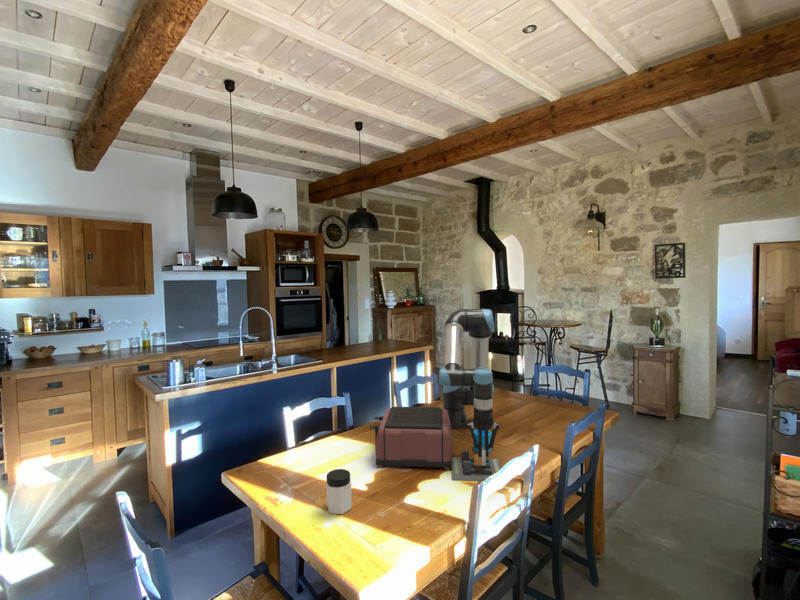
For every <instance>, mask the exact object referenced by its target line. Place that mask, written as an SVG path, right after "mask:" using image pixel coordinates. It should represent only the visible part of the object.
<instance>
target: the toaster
mask: <svg viewBox="0 0 800 600" xmlns="http://www.w3.org/2000/svg"><path fill="white" fill-rule="evenodd" d="M373 420H376V421H378V425H370V426H369V429H370V430H374V433H375V435H374V436H375V437H374V438H375V439H374V440H375V465H376V467H377V468H383V467H384V466H387V467H389V466H390V467H419V468H423V467H424V468H443V469H445V470H447V471H451V470H452V467H451V466H452V457H453V441H452V430H451V429H452V428H451V426H450V419H449V415H448V411H447V410H446V409H443V408H441V407H435V406H433V407H432V406H431V407H430V406H424V407H423V406H392V407H388V408H386V410H385V412H384V415H383V416H381V415H380V416H374V417H373Z"/></svg>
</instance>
